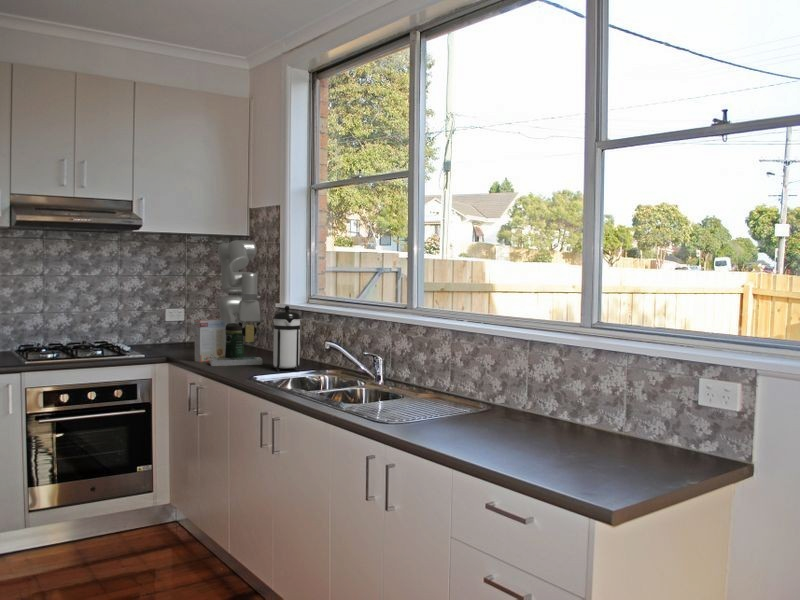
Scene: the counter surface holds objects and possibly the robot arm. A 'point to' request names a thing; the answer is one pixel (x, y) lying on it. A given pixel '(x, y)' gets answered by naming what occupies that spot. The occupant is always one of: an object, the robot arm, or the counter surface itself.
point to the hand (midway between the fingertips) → (249, 335)
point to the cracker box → (209, 339)
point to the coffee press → (286, 339)
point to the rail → (235, 361)
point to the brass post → (249, 333)
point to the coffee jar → (234, 341)
